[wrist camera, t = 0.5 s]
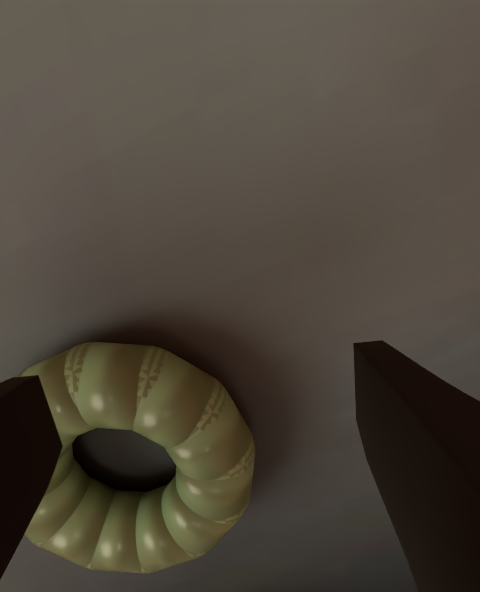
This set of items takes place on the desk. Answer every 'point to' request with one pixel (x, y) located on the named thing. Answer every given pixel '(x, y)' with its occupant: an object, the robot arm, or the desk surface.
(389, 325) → the desk surface
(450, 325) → the desk surface
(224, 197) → the desk surface
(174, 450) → the ring
